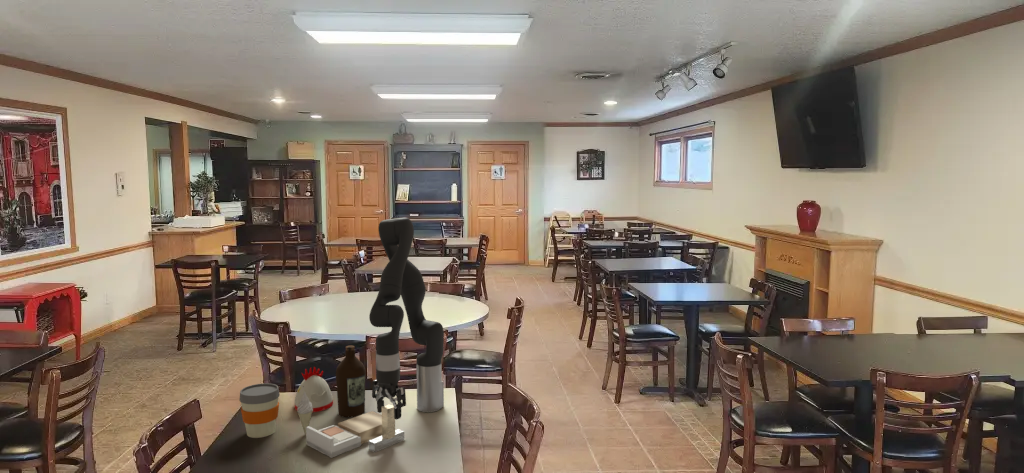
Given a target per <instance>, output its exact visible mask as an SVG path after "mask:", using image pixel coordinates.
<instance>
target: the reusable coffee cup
mask: <svg viewBox="0 0 1024 473" xmlns="http://www.w3.org/2000/svg"><path fill="white" fill-rule="evenodd" d="M280 394H281V393H280V389H279V386H278V385H277V384H275V383H271V382H270V383H265V382H264V383H256V384H251V385H247V386H245V387H243V388H242V389H240V392H239V402H240V404H241V405H240V406H241V407H240V412H241V418H242V422H243V423H244V426H245V430H246V432H245V433H246V436H247V437H249V438H253V439H258V438H260V439H261V438H264V437H268V436H271V435H272V434H275V432H276V427H277V425H276V423H277V418H278V416H279V409H280V408H279V407H280V402H279V397H280Z"/></svg>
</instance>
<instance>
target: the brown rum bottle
mask: <svg viewBox="0 0 1024 473" xmlns="http://www.w3.org/2000/svg"><path fill="white" fill-rule="evenodd" d="M355 348H356V347H355V345H346V346H345V351H344V352H345V356H344V358H343V359H342V360H341V361H340V363H338V365H337V366H336V370H335V383H336V395H337V413H338V415H339V417H342V418H348V419H351V418H354V417H357V416H360V415H362V414H365V412H366V408H365V407H366V375H367V374H366V373H367V372H366V368H365V367H366V366H365V365H364V363H363V362H362V361H361V360H360V359H358V357H357V356H356V349H355Z"/></svg>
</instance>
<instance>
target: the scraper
mask: <svg viewBox="0 0 1024 473" xmlns="http://www.w3.org/2000/svg"><path fill="white" fill-rule="evenodd" d="M381 415H382V436H379V437H377V438H374V439H372V440H369V441H368V450H369V451H371V452H373V453H377V452H379V451H381V449H382V450H384V449H386V448H389V447H391V446H393V445H396V444H398V443H401V442H404V441H405V430H402V429H400V428H397V429H396V419H394V406H393V404H387V405H384V406H383V407H382V412H381Z"/></svg>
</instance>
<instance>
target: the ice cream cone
mask: <svg viewBox="0 0 1024 473" xmlns="http://www.w3.org/2000/svg"><path fill="white" fill-rule="evenodd" d="M297 410H298V411H297ZM297 410H296V411H297V412H296V413H297V414H298V417H299V422H300V423H301V425H302V426H301V427H302V429H303V432H304V435H306V427H308V426H310V422H311V417H312V414H313V412H312V411H313V409H312V403H311V402H309V399H308V397H307V396H306V394H305V391H304V394H303V396H302V398H301V402H300V403H299V405H298V408H297Z"/></svg>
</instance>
